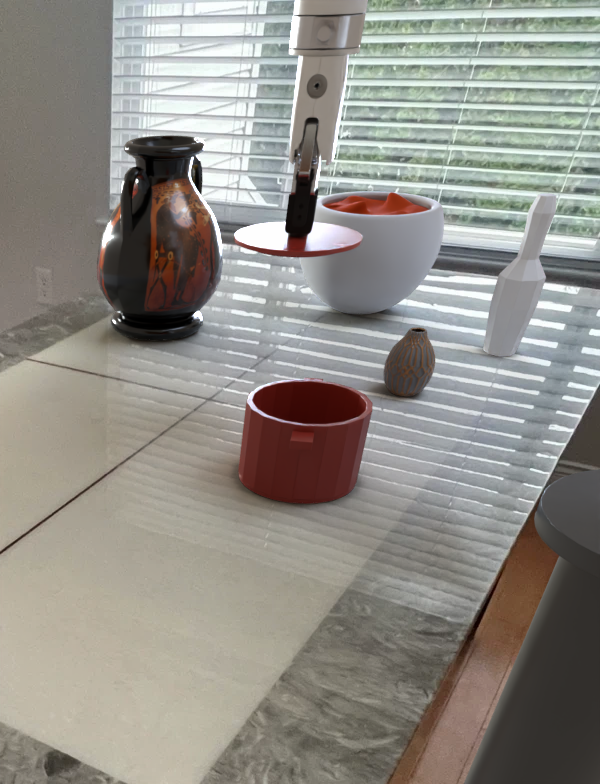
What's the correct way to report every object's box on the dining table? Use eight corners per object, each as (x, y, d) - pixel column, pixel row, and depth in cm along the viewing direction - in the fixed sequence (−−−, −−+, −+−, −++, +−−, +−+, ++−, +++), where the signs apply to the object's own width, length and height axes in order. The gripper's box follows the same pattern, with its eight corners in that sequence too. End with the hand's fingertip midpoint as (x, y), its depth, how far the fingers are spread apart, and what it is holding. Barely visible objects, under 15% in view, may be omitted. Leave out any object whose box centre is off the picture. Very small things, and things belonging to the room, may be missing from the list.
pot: (266, 312, 156) (280, 201, 144) (327, 282, 169) (345, 178, 157) (390, 336, 144) (416, 218, 132) (445, 302, 157) (474, 191, 145)
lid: (362, 233, 108) (373, 172, 103) (359, 264, 97) (371, 197, 92) (241, 229, 111) (247, 170, 107) (225, 258, 100) (231, 194, 96)
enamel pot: (358, 449, 111) (374, 376, 105) (352, 520, 97) (370, 441, 91) (248, 439, 114) (257, 368, 108) (227, 507, 100) (236, 429, 94)
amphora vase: (149, 303, 162) (156, 127, 143) (241, 325, 150) (261, 137, 132) (71, 331, 151) (68, 144, 132) (164, 357, 139) (175, 156, 121)
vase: (383, 380, 129) (397, 320, 123) (430, 386, 126) (446, 325, 121) (375, 396, 124) (388, 334, 118) (424, 403, 122) (440, 339, 116)
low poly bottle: (497, 360, 134) (547, 201, 119) (469, 348, 138) (513, 193, 124) (529, 354, 135) (581, 196, 121) (500, 342, 140) (547, 188, 125)
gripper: (360, 41, 84) (326, 247, 96) (363, 31, 95) (333, 216, 108) (283, 42, 86) (260, 244, 98) (296, 32, 97) (273, 214, 109)
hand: (298, 228), depth 103 cm, fingers closed on lid, 2 cm apart
